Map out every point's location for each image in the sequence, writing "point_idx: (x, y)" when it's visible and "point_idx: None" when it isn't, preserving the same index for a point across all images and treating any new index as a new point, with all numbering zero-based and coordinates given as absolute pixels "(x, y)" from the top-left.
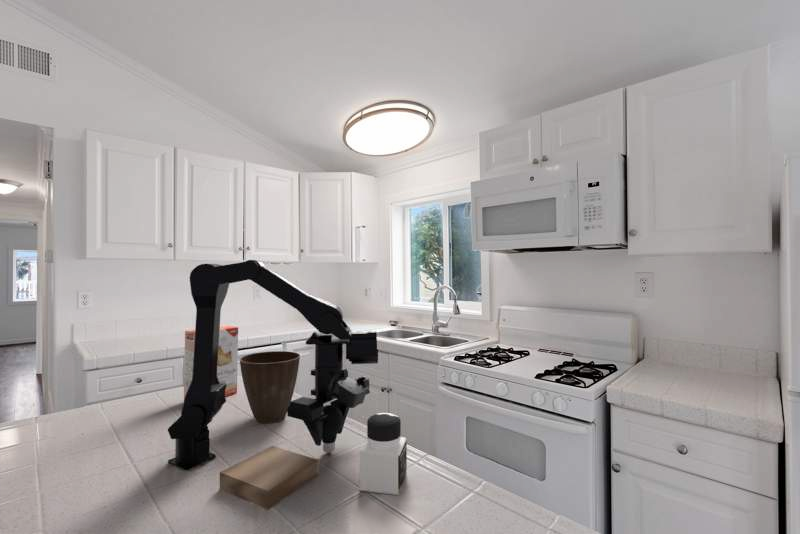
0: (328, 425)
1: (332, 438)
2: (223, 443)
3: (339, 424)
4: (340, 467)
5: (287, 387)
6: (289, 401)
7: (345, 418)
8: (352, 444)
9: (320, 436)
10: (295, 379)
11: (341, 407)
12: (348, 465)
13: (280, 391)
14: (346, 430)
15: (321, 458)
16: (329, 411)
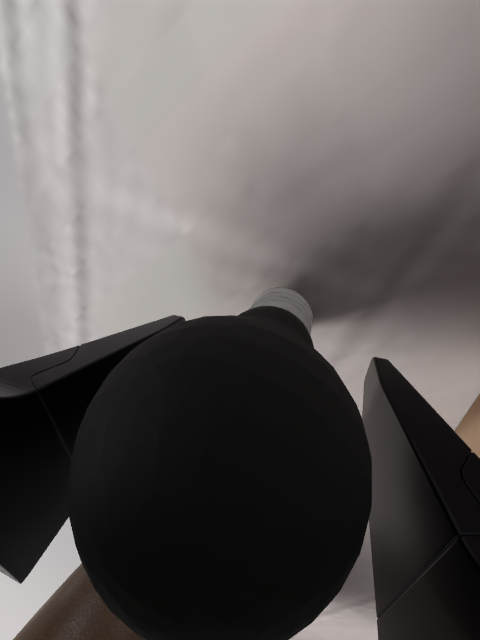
0: (357, 424)
1: (290, 322)
2: (348, 580)
3: (242, 332)
4: (424, 153)
5: (98, 632)
6: None
7: (90, 344)
8: (160, 250)
9: (412, 401)
10: (44, 634)
11: (27, 443)
12: (380, 116)
13: (131, 635)
14: (95, 331)
15: (343, 315)
16: (254, 598)
